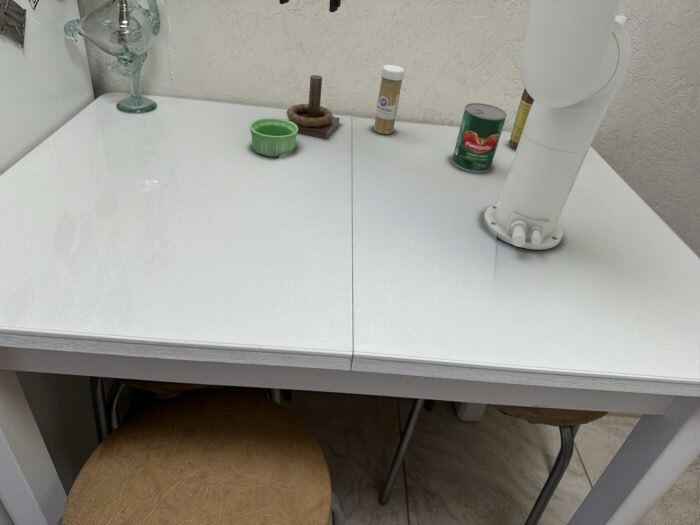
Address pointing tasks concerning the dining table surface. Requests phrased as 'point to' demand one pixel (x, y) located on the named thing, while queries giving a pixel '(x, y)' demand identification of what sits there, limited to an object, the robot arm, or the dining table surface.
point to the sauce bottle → (521, 118)
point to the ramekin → (273, 136)
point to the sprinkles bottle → (388, 98)
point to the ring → (309, 122)
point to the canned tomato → (478, 137)
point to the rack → (316, 111)
